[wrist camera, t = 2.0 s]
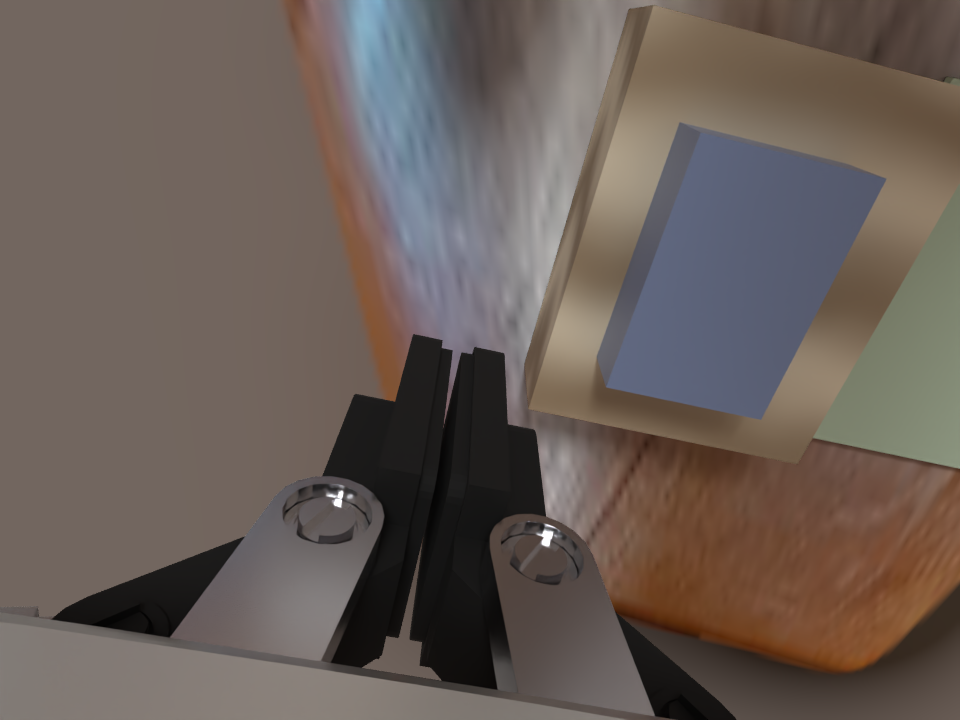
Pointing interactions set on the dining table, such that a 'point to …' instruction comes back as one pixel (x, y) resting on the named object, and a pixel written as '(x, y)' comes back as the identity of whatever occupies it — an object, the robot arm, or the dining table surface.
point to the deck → (764, 118)
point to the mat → (911, 361)
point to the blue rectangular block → (731, 270)
